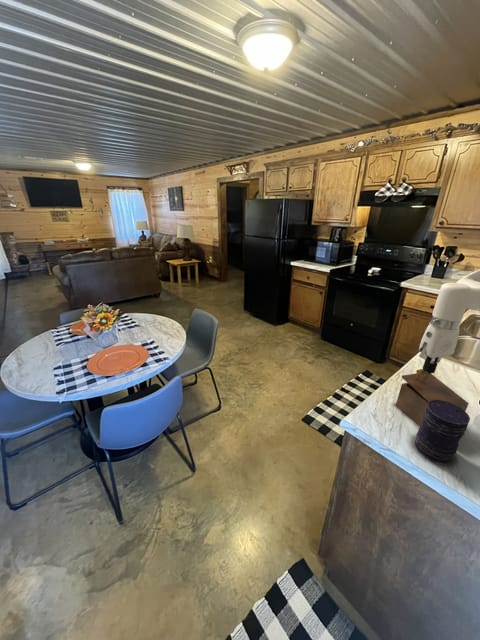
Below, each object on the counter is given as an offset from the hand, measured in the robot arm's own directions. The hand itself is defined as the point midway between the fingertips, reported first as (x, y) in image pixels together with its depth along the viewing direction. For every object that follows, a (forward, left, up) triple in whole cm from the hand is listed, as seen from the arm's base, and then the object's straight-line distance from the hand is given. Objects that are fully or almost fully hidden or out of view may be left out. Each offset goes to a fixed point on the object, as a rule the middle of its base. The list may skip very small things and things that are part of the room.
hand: (428, 371), depth 90 cm
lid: (0, +3, -5) cm, 6 cm away
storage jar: (+10, +16, -17) cm, 25 cm away
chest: (0, +4, -16) cm, 17 cm away
